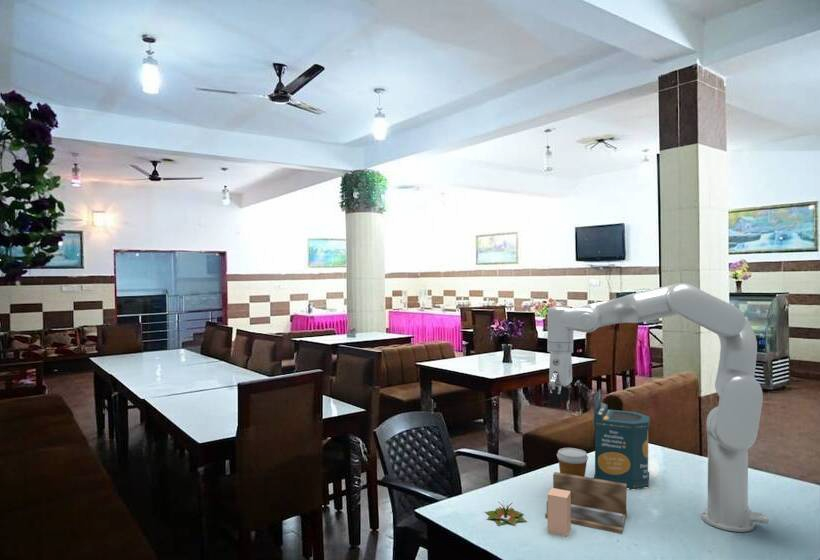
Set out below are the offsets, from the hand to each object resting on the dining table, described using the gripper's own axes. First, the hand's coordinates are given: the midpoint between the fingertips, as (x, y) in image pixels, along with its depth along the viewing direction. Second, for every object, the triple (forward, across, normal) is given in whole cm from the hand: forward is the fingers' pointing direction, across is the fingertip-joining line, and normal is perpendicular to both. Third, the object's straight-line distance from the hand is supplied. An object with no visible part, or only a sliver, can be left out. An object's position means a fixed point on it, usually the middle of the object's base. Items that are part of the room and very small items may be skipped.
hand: (559, 403), depth 163 cm
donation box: (+29, +26, -15) cm, 42 cm away
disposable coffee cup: (+29, +8, -2) cm, 30 cm away
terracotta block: (+29, -20, -5) cm, 36 cm away
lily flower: (+30, -20, +10) cm, 37 cm away
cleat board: (+29, -8, -10) cm, 32 cm away
